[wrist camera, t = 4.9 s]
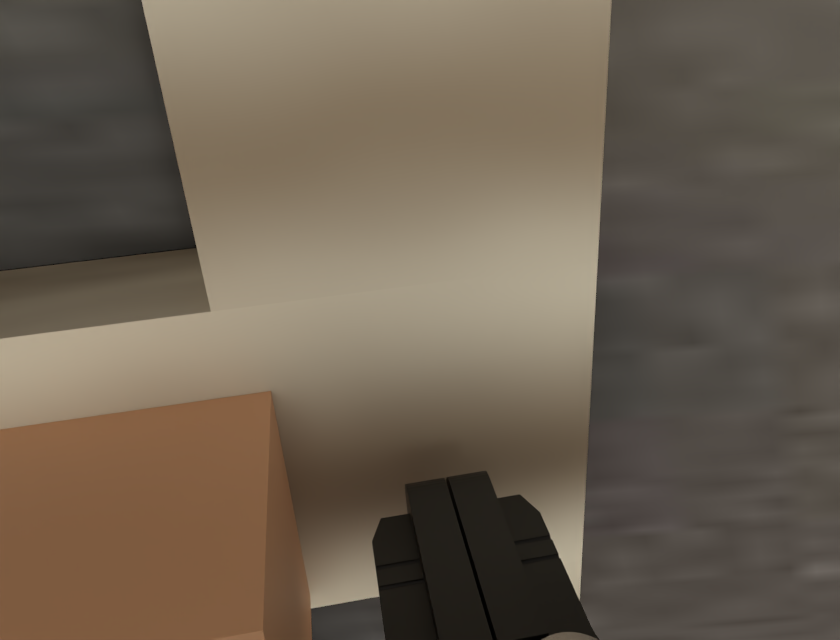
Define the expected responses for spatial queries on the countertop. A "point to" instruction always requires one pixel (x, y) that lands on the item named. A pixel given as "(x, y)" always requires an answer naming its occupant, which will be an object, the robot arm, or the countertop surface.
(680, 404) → the countertop surface
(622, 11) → the countertop surface
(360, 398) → the beige wooden tray
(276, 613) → the block
